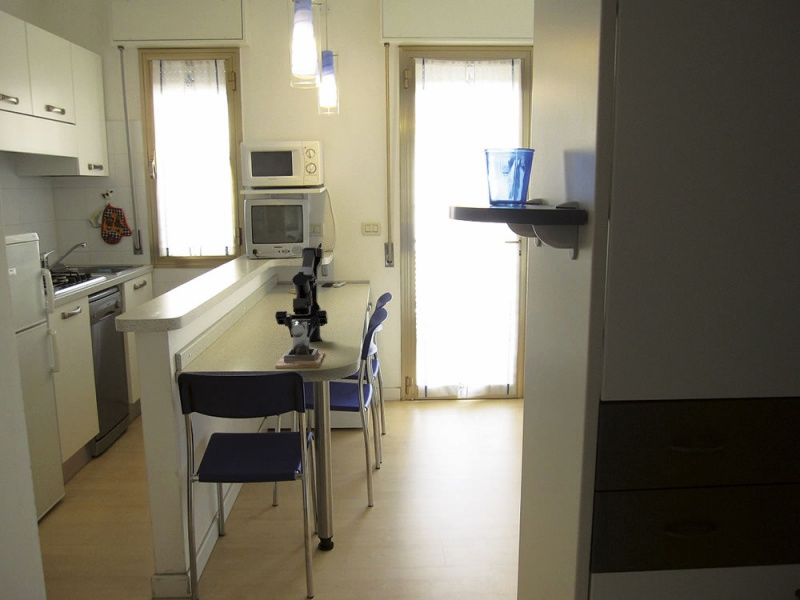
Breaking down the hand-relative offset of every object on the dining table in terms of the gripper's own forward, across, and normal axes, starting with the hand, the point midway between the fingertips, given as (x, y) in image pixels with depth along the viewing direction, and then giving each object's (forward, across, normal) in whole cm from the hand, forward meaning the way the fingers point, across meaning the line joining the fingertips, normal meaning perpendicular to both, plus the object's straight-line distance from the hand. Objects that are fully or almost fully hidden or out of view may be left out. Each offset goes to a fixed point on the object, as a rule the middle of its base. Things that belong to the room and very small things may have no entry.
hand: (300, 336), depth 232 cm
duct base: (+6, 0, +6) cm, 9 cm away
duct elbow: (+5, 0, +4) cm, 7 cm away
